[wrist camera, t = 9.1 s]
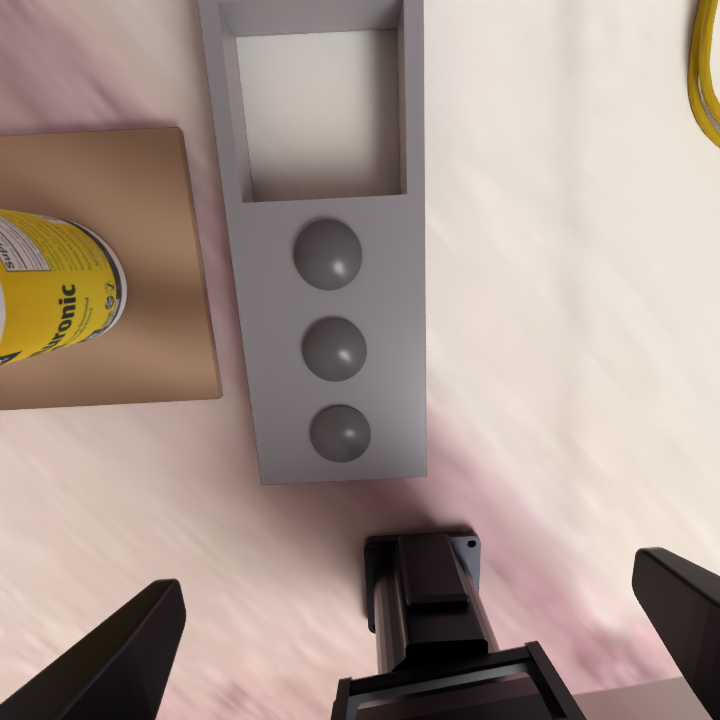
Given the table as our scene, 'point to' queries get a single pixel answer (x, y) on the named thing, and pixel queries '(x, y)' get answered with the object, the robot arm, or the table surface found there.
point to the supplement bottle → (54, 285)
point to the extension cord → (703, 70)
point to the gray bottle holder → (327, 270)
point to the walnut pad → (138, 259)
